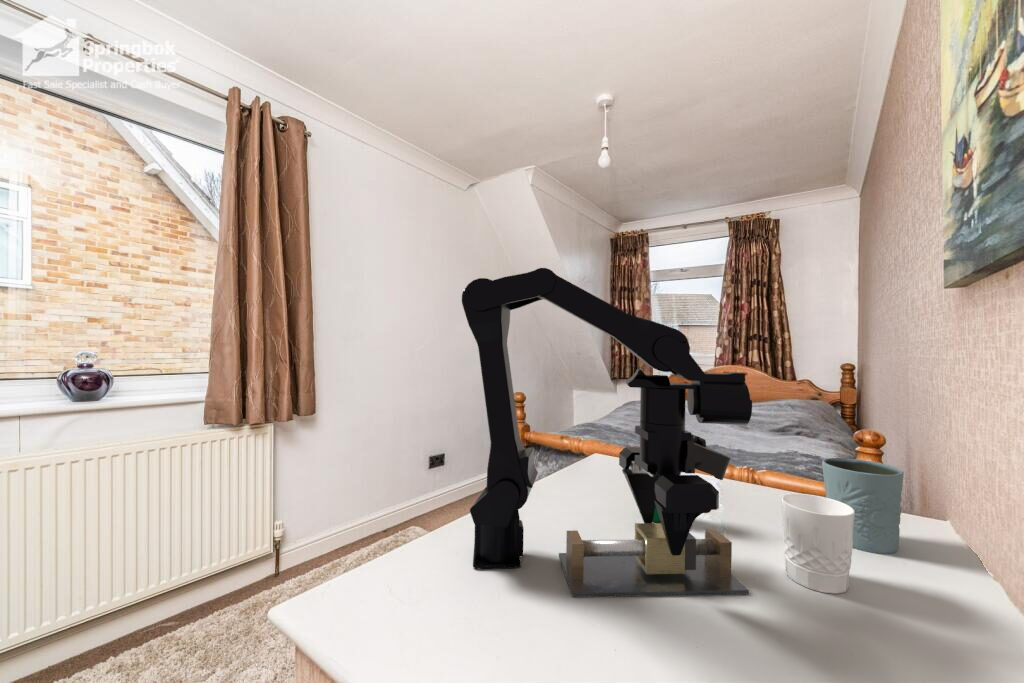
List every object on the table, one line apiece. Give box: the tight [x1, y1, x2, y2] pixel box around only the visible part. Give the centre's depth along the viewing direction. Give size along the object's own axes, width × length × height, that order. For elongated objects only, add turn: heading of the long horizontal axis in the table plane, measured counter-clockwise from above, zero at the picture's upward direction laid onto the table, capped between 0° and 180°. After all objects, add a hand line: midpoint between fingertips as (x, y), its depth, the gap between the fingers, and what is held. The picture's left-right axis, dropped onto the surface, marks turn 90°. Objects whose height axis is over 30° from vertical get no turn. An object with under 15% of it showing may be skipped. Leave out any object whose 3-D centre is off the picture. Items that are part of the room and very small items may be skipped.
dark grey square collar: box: [685, 532, 697, 570], centre depth 58 cm, size 2×4×4 cm, turn 3°
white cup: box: [781, 493, 855, 595], centre depth 57 cm, size 8×8×10 cm
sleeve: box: [634, 522, 685, 574], centre depth 58 cm, size 5×5×5 cm
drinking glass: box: [821, 457, 904, 555], centre depth 69 cm, size 10×10×12 cm
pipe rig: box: [558, 528, 750, 598], centre depth 58 cm, size 22×10×5 cm, turn 93°
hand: (660, 538), depth 58 cm, fingers open, 9 cm apart
